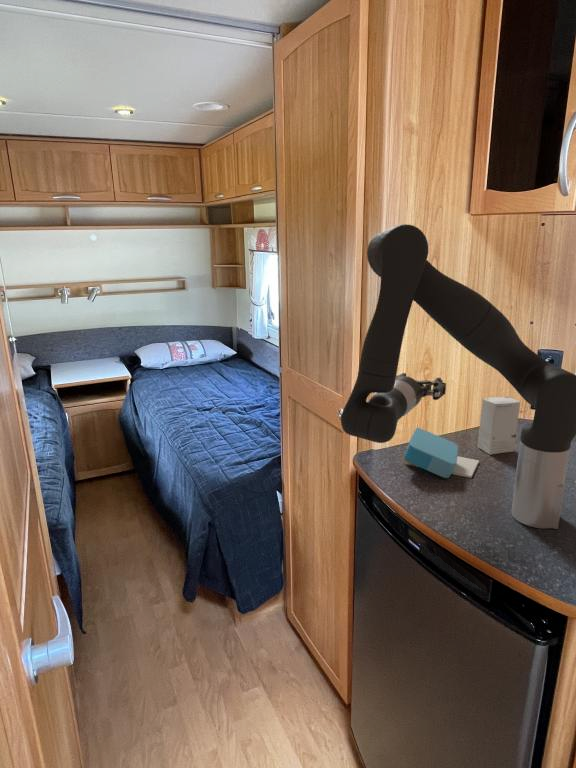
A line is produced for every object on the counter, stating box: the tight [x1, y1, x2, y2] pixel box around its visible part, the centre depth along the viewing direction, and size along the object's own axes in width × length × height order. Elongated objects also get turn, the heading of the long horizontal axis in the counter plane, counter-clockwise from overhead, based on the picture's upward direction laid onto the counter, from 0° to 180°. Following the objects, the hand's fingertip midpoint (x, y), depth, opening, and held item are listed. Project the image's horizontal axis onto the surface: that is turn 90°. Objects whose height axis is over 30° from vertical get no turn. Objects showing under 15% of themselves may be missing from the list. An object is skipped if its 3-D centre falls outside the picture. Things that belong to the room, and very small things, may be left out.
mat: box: [416, 455, 480, 479], centre depth 132 cm, size 14×10×1 cm
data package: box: [403, 427, 459, 479], centre depth 129 cm, size 12×4×12 cm
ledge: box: [404, 451, 417, 467], centre depth 136 cm, size 3×10×4 cm, turn 149°
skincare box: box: [477, 396, 521, 456], centre depth 139 cm, size 8×6×15 cm
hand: (421, 379), depth 121 cm, fingers open, 8 cm apart
